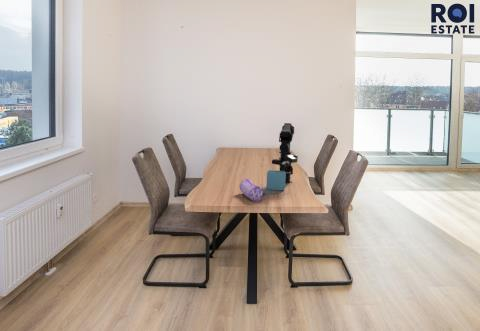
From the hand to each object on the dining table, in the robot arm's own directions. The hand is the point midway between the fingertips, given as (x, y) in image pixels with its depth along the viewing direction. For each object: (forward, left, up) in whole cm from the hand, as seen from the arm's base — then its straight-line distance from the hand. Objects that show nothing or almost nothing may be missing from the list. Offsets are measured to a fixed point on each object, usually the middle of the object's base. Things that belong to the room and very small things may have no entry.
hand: (284, 173), depth 290 cm
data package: (+7, 0, -10) cm, 12 cm away
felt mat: (+16, 0, -10) cm, 19 cm away
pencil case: (+34, +5, -10) cm, 36 cm away
